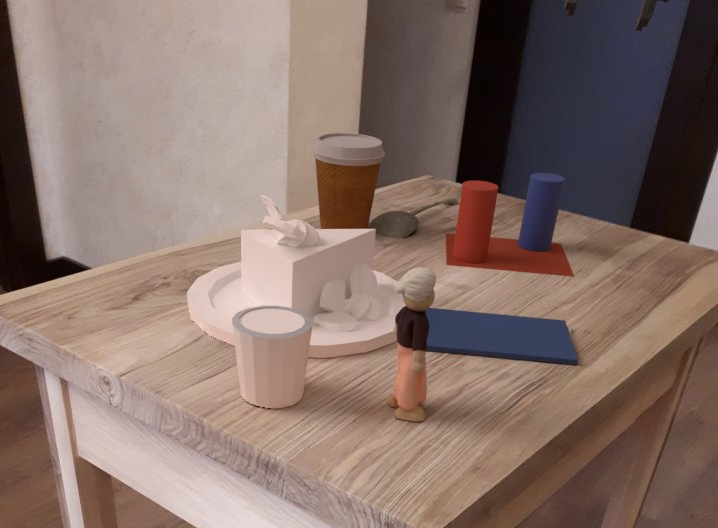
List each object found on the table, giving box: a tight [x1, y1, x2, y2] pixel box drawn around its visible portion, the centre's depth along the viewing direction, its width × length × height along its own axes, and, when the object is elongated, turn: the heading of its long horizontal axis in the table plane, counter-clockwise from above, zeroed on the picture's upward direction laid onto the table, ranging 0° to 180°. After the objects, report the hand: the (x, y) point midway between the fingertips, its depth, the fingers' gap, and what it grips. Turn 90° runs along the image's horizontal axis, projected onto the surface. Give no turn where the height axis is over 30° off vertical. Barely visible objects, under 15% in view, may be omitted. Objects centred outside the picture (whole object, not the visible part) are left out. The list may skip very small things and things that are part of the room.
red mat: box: [445, 232, 575, 278], centre depth 105 cm, size 16×13×1 cm
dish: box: [186, 194, 406, 359], centre depth 84 cm, size 25×25×11 cm
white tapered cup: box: [232, 306, 313, 409], centre depth 69 cm, size 7×7×7 cm
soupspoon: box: [368, 195, 459, 239], centre depth 115 cm, size 22×3×7 cm
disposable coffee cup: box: [311, 132, 386, 229], centre depth 106 cm, size 10×10×12 cm
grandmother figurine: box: [386, 266, 437, 423], centre depth 67 cm, size 8×4×13 cm, turn 21°
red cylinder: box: [452, 180, 499, 263], centre depth 100 cm, size 4×4×9 cm
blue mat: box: [425, 307, 579, 366], centre depth 84 cm, size 16×10×1 cm, turn 84°
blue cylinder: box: [518, 172, 566, 252], centre depth 105 cm, size 4×4×9 cm
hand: (605, 19), depth 98 cm, fingers open, 8 cm apart
